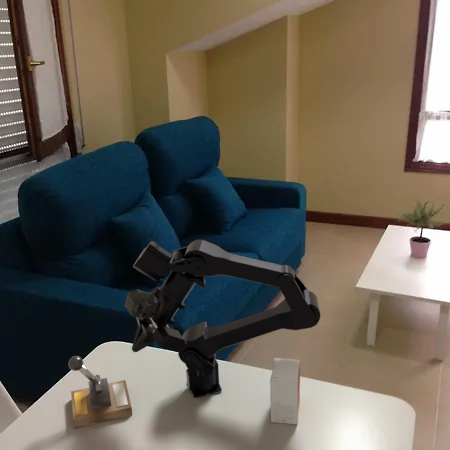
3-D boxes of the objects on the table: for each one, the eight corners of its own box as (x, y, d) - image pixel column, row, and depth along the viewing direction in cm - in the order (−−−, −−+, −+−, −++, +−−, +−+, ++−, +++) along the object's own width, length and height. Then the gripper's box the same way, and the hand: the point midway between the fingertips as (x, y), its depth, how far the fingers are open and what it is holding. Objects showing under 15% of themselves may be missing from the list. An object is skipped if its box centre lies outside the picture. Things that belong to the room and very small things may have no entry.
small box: (297, 425, 110) (298, 382, 106) (270, 422, 111) (269, 379, 107) (300, 400, 117) (300, 359, 114) (274, 398, 118) (274, 356, 115)
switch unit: (126, 387, 124) (123, 368, 122) (132, 414, 115) (130, 395, 113) (72, 398, 120) (69, 380, 119) (74, 428, 111) (71, 408, 110)
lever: (104, 374, 118) (76, 348, 114) (106, 387, 114) (77, 361, 110) (93, 383, 118) (65, 357, 114) (95, 396, 113) (65, 370, 109)
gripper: (128, 258, 116) (89, 317, 118) (163, 306, 102) (119, 371, 104) (166, 274, 123) (129, 329, 125) (204, 320, 109) (162, 381, 111)
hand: (133, 350), depth 116 cm, fingers closed
